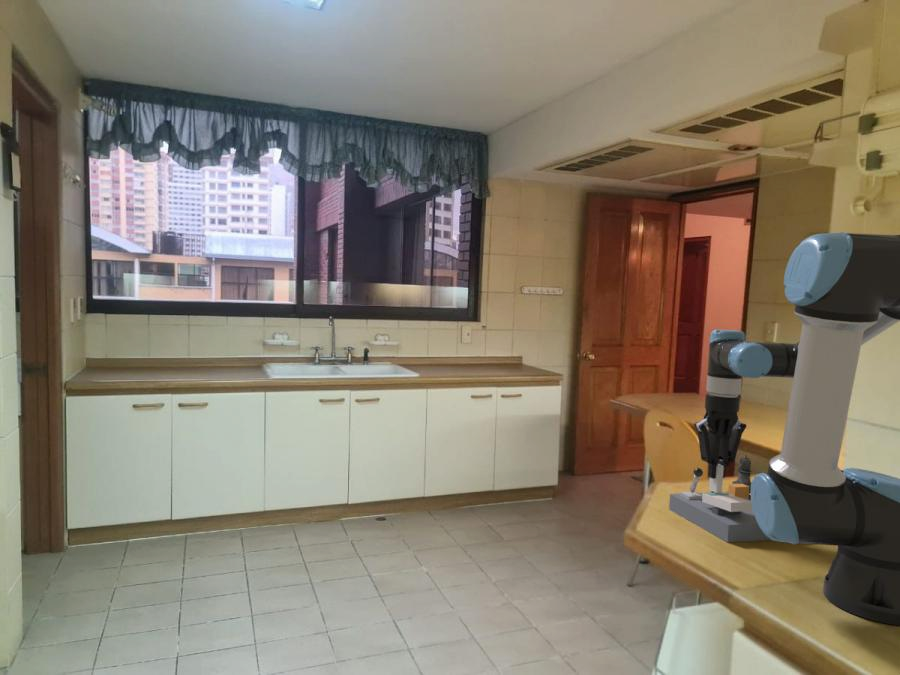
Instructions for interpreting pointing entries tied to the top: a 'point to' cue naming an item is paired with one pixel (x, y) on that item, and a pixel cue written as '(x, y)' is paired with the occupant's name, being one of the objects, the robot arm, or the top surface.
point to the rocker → (727, 502)
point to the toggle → (695, 479)
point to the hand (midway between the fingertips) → (715, 490)
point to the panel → (717, 518)
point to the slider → (739, 490)
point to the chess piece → (744, 473)
